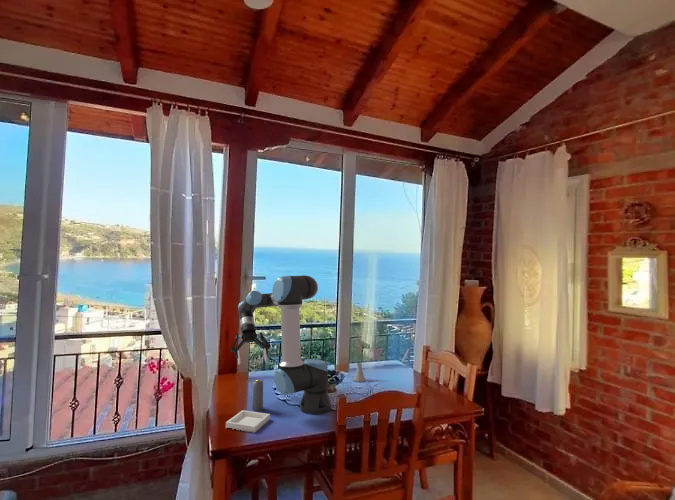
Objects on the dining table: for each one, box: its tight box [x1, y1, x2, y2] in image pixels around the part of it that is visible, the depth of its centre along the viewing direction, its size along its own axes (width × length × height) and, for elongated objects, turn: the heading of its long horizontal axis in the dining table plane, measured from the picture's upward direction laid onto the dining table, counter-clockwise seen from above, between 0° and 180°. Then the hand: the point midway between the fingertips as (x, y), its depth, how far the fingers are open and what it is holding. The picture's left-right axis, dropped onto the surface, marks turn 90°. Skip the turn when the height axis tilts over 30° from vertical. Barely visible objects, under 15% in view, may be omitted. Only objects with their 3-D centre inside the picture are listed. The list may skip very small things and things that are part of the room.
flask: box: [352, 362, 366, 383], centre depth 239 cm, size 7×7×10 cm
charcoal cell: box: [251, 379, 264, 412], centre depth 194 cm, size 5×5×14 cm
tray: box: [225, 409, 271, 434], centre depth 178 cm, size 14×14×2 cm
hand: (252, 362), depth 205 cm, fingers open, 13 cm apart
